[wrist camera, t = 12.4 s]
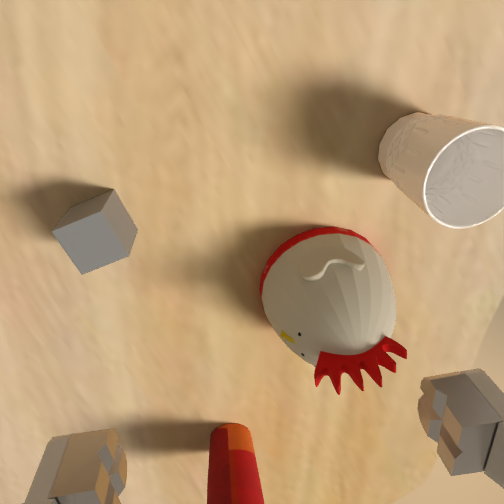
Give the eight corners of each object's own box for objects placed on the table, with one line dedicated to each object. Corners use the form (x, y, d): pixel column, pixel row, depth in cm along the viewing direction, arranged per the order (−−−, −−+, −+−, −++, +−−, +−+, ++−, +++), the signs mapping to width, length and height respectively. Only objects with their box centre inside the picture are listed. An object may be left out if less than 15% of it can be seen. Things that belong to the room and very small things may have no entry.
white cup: (359, 133, 37) (409, 161, 28) (438, 88, 36) (516, 103, 27) (386, 201, 40) (438, 245, 32) (459, 162, 39) (534, 197, 30)
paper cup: (208, 459, 56) (210, 576, 44) (197, 423, 52) (195, 540, 40) (262, 449, 56) (279, 562, 44) (255, 412, 53) (271, 525, 40)
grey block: (70, 206, 37) (51, 231, 32) (114, 188, 37) (101, 211, 32) (96, 246, 39) (81, 274, 34) (137, 229, 39) (128, 256, 34)
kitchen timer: (249, 242, 41) (272, 337, 28) (379, 214, 41) (463, 295, 28) (270, 343, 47) (297, 458, 34) (382, 318, 48) (451, 423, 34)
